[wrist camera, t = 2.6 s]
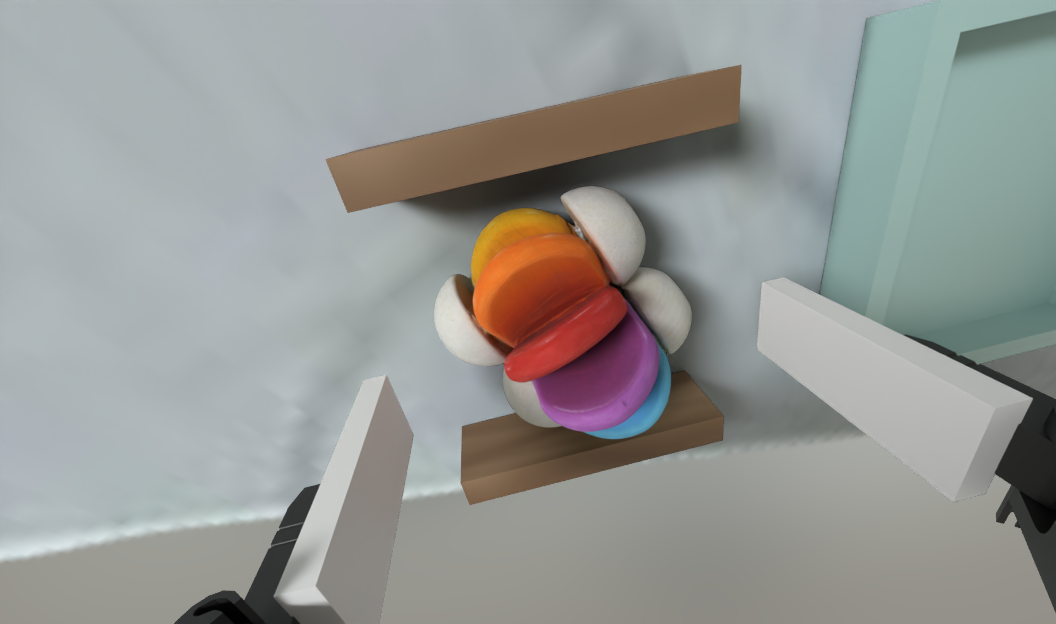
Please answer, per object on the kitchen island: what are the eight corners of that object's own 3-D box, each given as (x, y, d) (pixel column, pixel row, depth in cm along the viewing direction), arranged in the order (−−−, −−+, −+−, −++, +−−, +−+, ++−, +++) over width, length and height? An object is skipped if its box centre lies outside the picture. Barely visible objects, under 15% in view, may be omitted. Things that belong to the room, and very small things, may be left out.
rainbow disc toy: (576, 141, 15) (659, 160, 8) (681, 315, 19) (790, 416, 13) (409, 273, 16) (371, 376, 10) (542, 408, 20) (575, 541, 14)
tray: (866, 18, 14) (940, 0, 12) (1221, -62, 15) (1355, -94, 12) (806, 369, 22) (845, 397, 19) (1042, 309, 22) (1107, 331, 20)
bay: (357, 150, 14) (325, 159, 11) (681, 76, 14) (741, 64, 11) (469, 446, 21) (469, 505, 18) (685, 392, 21) (722, 440, 18)
